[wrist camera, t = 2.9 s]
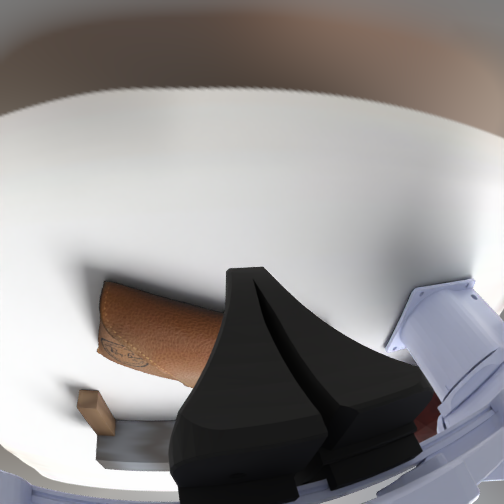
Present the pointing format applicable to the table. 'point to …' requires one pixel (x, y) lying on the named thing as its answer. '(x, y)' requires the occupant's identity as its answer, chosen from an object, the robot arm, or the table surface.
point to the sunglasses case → (156, 333)
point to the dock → (126, 437)
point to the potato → (428, 420)
